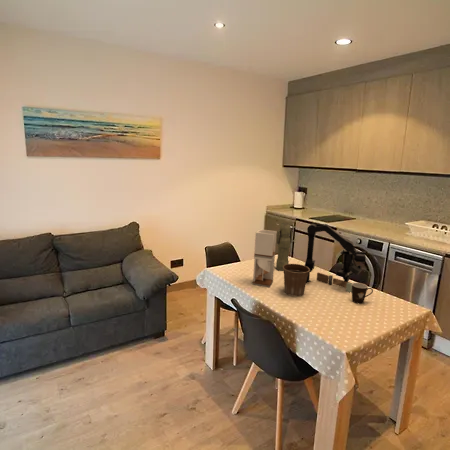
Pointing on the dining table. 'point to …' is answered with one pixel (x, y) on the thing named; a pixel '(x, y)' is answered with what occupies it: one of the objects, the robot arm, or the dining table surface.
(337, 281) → the gate
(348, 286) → the latch stile
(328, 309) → the dining table surface
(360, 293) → the coffee mug
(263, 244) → the grey dispenser tower
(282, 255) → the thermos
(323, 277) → the hinge post
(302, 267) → the plant pot
